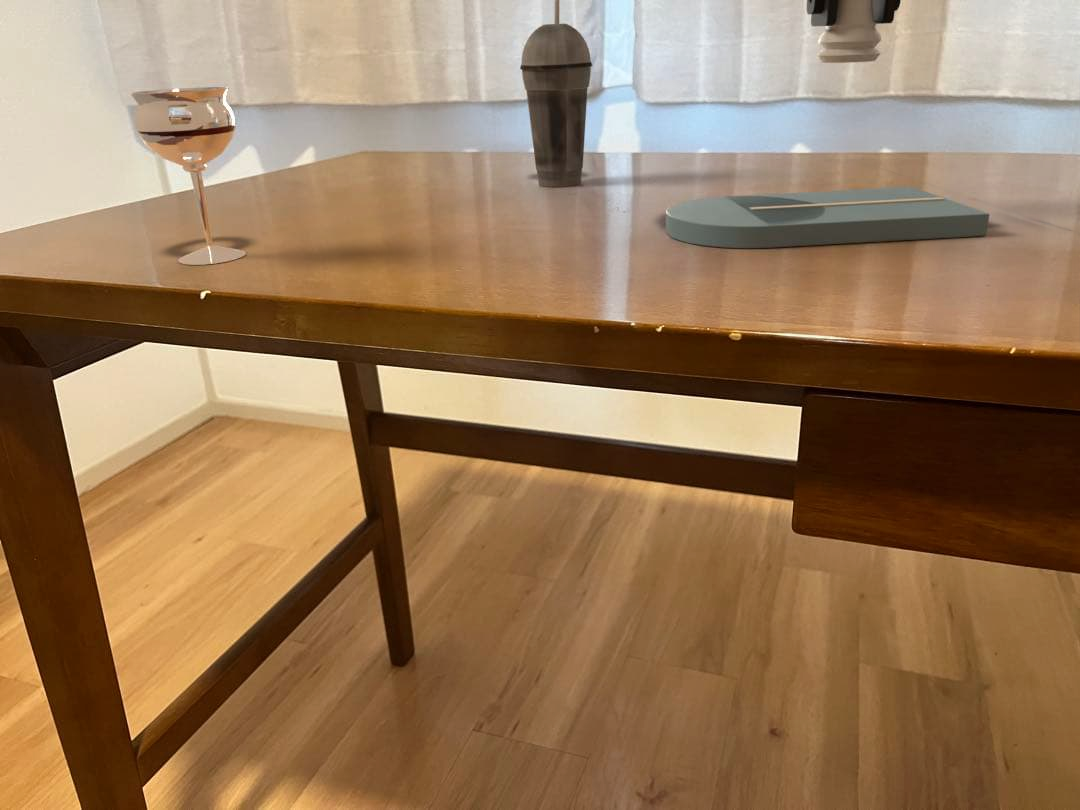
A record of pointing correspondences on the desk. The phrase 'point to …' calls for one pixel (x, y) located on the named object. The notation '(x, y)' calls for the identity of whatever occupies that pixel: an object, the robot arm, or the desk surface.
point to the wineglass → (189, 144)
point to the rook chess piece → (850, 34)
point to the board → (822, 218)
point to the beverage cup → (557, 100)
